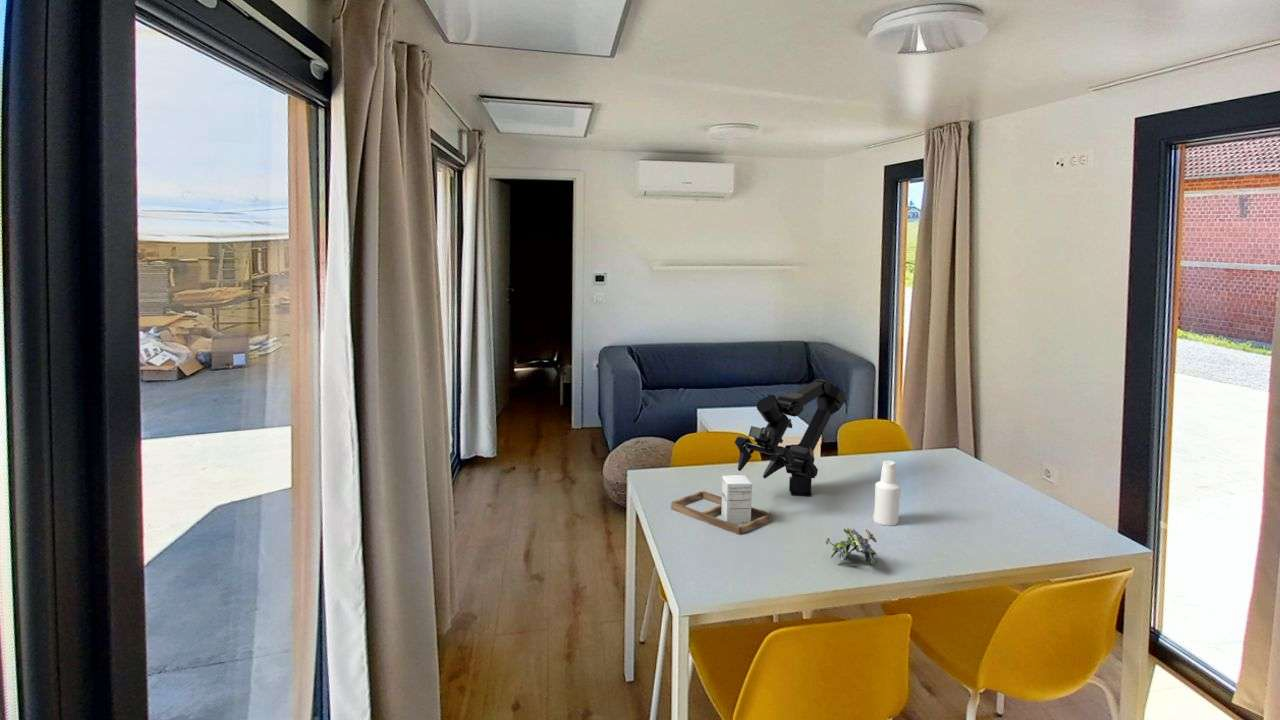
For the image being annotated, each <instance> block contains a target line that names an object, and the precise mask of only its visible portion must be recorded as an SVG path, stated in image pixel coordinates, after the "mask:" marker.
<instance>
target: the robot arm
mask: <svg viewBox="0 0 1280 720" xmlns="http://www.w3.org/2000/svg"><path fill="white" fill-rule="evenodd" d="M846 399H847V398H846V393H845V392H844V390H843V389H841V388H839V387H837V386H836V385H833V384H831V382H829V381H828V380H825V379H819V378H816V379H813V380H812V381H811V383H809V384H807V385H805V386H804V387H802V388H800V389H799V390H797V391H795V392H793V393H785V394H782V395H780V396H778V397H776V395H775V394H771V393H769V394H768V395H767V396H765V397H763V398H760V400H759V401H757V403H756V409H757V411H758V412H759V414H760V415H761V417H762V418H763V420H764V422H766V423H767V424H766V426H763V427H758V426H753V425H751V426H750V429H749V432H748V435H747V436H748V437H749V438H748V437H744V436H741V435H740V436H737V437H736V439H735V441H734V442H733V443H734V444H735V446H736V448H738V450H739V459H738V464H737V470H738V472H741V471H742V470H743V469H744V468H745V466H746V465H747V464H748V462H749V461H750V460H751V458H752V457H753V455H752V454H754V452H758V453H763V454H764V455H768V456H769V455H770V456H771V457H770V461H769V463H768V464H767V467H766V468H765V470H764V472H763V475H762V478H763V479H767V478H769V477H770V476H771V475H773V474H774V473H776V472H777V471H779V470H781V469H782V468H785V471H786V473H787V474H791V475H790V476H789V480H788V481H789V484H788V485H789V486H788V490H789V492H790V495H791V496H799V497H803V496H804V497H812V495H813V494H812V483H813V482H812V479H815V478H816V477H817V476H818V471H819V469H818V468H817V466H816V464H815V463H814V462H815V453H814V451H815V449H816V447H817V445H818V443H819V440H820V439H821V437H822V435H823V432H824V431H825V429H826V427H827V425H828V423H829V421H830V419H831V417H832V416H833V414H836V413H837V412H838V411H840V410H841V408H842V407H843V405H844V404H845V401H846ZM814 400H816V405H817V408H816V410H815V412H814V414H813V416H812V417H811V420H810V422H809V424H808V426H807V428H806V430H805V432H804V433H803V436H802V438H801V439H800V442H799V443H798V444H791V446H790V447H789V448H788V447H784V446H780V445H779V444H783V443H784V440H783V436H784V434H785V433H786V431H787V429H792V428H793V424H792V423H793V422H792V419H791V418H789V417H794V418H795V417H798V416H799V415H800V414H801V413H802V412H803V411H804V409H805V408H804V407H805V406H806V405H807V404H809V403H810V402H812V401H814ZM788 416H789V417H788ZM750 437H751V438H753V441H754V442H755V443H753V442H752V441H751V439H750Z"/></svg>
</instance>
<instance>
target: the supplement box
mask: <svg viewBox="0 0 1280 720" xmlns="http://www.w3.org/2000/svg"><path fill="white" fill-rule="evenodd" d="M721 479H722V481H721V483H722V484H721V497H722V510H721V513H720V514H721V517H722V520H724V521H726V522H729V523H732V524H734V525H737V526H742V525H741V524H746V523H749V522H751V521H752V515H751V507H752V500H753V499H752V497H753V495H752V494H753V491H752V490H753V487H752V486H753V483H752V482H751V480H750V479H749V477H747V475H745V474H740V475H739V474H738V475H733V474H732V475H722V478H721Z"/></svg>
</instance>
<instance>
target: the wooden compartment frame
mask: <svg viewBox="0 0 1280 720" xmlns="http://www.w3.org/2000/svg"><path fill="white" fill-rule="evenodd" d="M703 498H704V500H707V501H710V502H712V503H715V504H718V505H717V506H715V507H713V508H710V509H708V510H705V511H702V512H701V511H699V510H696V509H693V508H691V507H687V506H686V505H688V503H689V504H692V503H694V502H697V501H699V500H702V499H703ZM670 508H671V509H670V510H672V511H675V512H678V513H680V514H683V515H686V516H689V517H690V518H693V519H697V520H698V521H702V522H704V523H706V522H707V524H709V525H712V524H713V525H712V526H714V525H715V527H717V526H718V527H717V528H720V529H722V528H723V529H722V530H725V529H726V531H727V530H729V531H728V532H730V531H731V533H733V532H734V533H733V534H735V533H736V535H738V534H739V535H744V534H746V533H748V532H747V531H749V530H751V531H753V530H755V529H757V528H759V526H760V527H762V526H764V525H766V524H768V522H769V523H770V522H771V520H772V513H770V512H767V511H764V510H761V509H758V508H755V507H752V506H751V517H752V516H753V517H756V519H754V520H751V522H749V523H746V524H744V525H734V524H732V523H729V522H726V521H724V519H720V518H718V517H715V516H718V515H720V514H721V510H722V496H719V495H716V494H713V493H710V492H707V491H705V490H703V491H701V490H700V491H698V492H695V493H692V494H690V495H687V496H684V497H681V498H678V499H674V500H673V501H671V503H670ZM761 525H762V526H761ZM756 527H757V528H756ZM754 528H755V529H754ZM752 529H753V530H752ZM745 532H746V533H745ZM749 532H750V531H749ZM743 533H744V534H743Z"/></svg>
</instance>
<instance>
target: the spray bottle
mask: <svg viewBox="0 0 1280 720" xmlns="http://www.w3.org/2000/svg"><path fill="white" fill-rule="evenodd" d="M880 473H881V475H880V480H879V481H877V482H875V483H874V500H873V517H872V520H873V522H875V523H876V524H878V525H882V526H886V527H887V526H888V527H890V526H892V527H893V526H896V525H897V524H898V523H899V513H900V512H899V511H900V498H901V497H900V496H901V485H900V484H899V483H897V482H896V480H897V476H896V475H897V474H896V473H897V470H896V462H895V461H893V460H888V459H887V460H883V462H882V468H881V472H880Z"/></svg>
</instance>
